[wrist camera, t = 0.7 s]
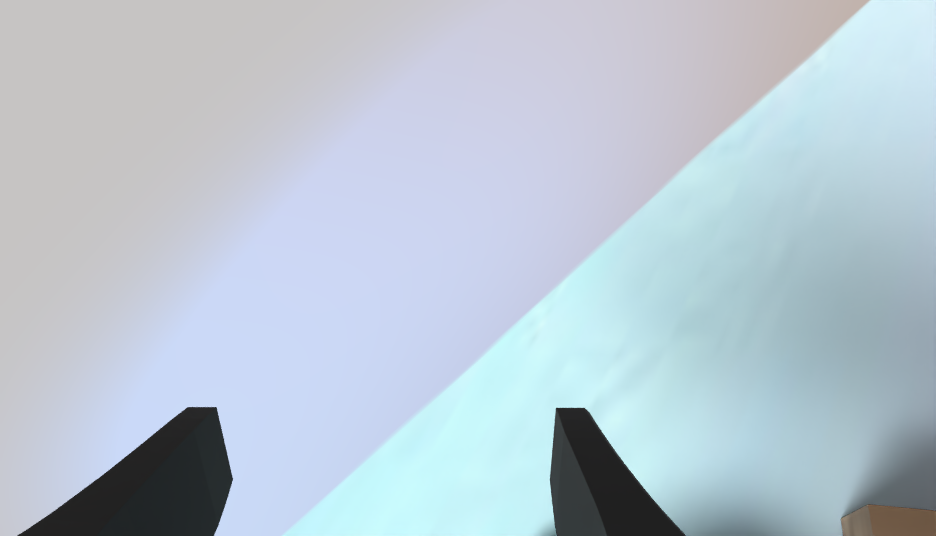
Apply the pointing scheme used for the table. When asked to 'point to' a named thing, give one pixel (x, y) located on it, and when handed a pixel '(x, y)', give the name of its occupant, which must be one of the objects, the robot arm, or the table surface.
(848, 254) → the table surface
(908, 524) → the stepped wooden block
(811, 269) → the table surface
